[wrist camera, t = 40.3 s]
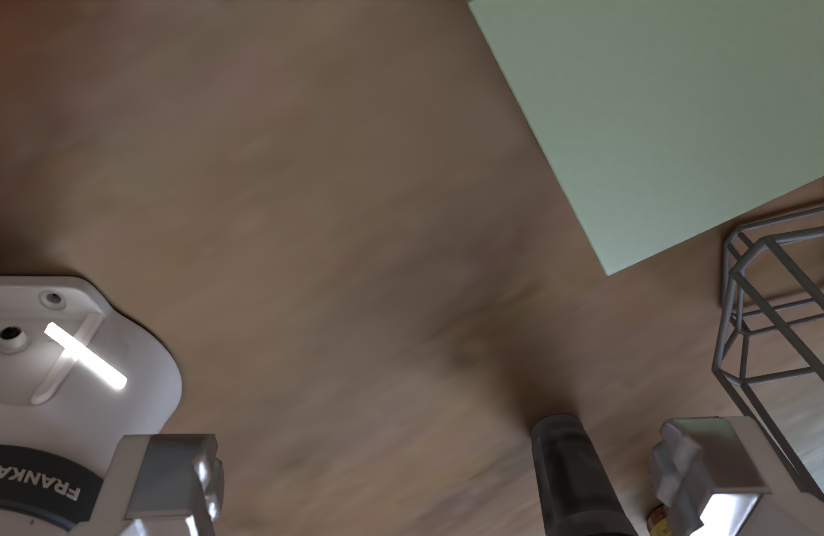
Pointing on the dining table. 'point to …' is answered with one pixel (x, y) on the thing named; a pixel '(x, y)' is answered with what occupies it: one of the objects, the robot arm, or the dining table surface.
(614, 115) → the cabinet
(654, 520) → the sauce bottle
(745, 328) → the geometric lantern
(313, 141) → the dining table surface
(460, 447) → the dining table surface
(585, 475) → the beverage cup
